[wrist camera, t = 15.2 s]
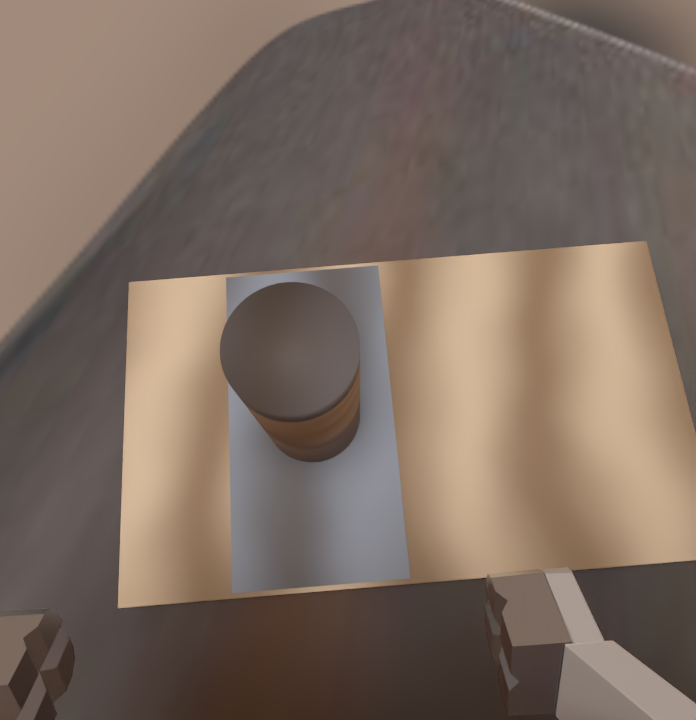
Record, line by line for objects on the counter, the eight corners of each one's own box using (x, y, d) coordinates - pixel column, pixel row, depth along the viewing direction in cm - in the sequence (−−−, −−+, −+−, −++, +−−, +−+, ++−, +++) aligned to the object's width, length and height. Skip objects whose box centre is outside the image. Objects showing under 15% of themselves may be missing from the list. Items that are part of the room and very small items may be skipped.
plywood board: (632, 256, 30) (647, 239, 28) (706, 557, 25) (729, 557, 24) (140, 295, 29) (128, 281, 28) (131, 605, 25) (116, 608, 24)
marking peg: (356, 366, 26) (354, 276, 18) (363, 458, 25) (365, 408, 17) (264, 374, 26) (218, 287, 18) (267, 466, 25) (220, 420, 17)
